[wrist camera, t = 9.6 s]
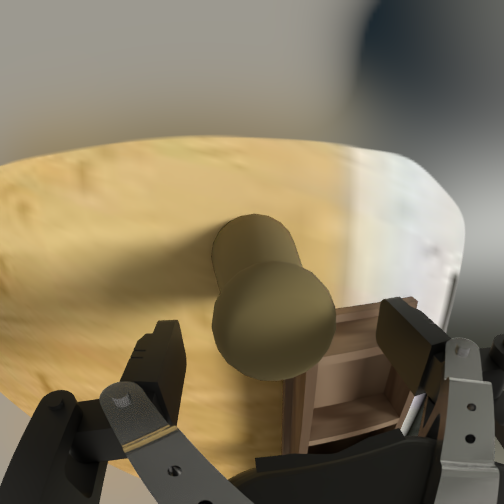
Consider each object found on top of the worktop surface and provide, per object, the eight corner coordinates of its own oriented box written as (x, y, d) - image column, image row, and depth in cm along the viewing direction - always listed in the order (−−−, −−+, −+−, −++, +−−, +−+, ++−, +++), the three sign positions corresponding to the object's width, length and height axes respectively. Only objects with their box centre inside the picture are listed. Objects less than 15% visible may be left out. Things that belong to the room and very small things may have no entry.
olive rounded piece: (212, 295, 21) (204, 404, 11) (210, 213, 20) (193, 270, 9) (293, 293, 22) (342, 394, 11) (298, 214, 20) (369, 267, 10)
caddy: (280, 470, 30) (286, 500, 25) (283, 315, 22) (296, 352, 18) (366, 452, 30) (378, 478, 26) (412, 296, 23) (443, 322, 18)
